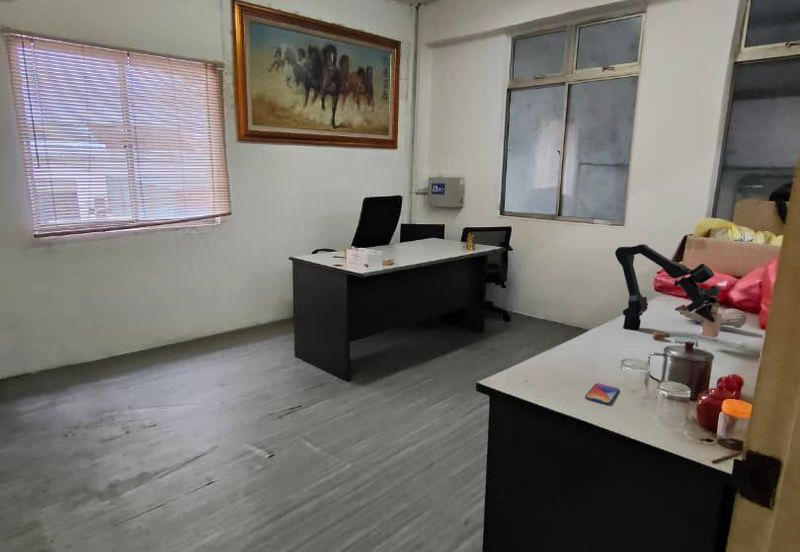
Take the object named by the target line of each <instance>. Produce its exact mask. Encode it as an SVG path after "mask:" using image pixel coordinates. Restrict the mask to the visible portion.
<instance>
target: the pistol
mask: <svg viewBox="0 0 800 552" xmlns="http://www.w3.org/2000/svg"><path fill="white" fill-rule="evenodd" d="M702 330H703V328H702V329H701V328H700V329H699V331H698V330H694V331H692V334H691V335H694V336H697V337H698V338H701V339H706V340H708V341H712V342H718V343H723V344H727V345H731V346H735V347H740V348H742V347H741V346H743V347H744V342H742V341H737V340H733V339H729V338H724V337H722V336H720V335H718V336H717V337H714V338H713V337H709V336H705V335H702Z"/></svg>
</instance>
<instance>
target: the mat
mask: <svg viewBox="0 0 800 552" xmlns="http://www.w3.org/2000/svg"><path fill="white" fill-rule="evenodd" d="M673 338H674V343H675V344H681V345H684V344H683V343H684V341H685V340H690V341H693V342H695V345H696V346H697V342H696V339H694V338H688V337H682V336H681V337H680V336H676V335H674V336H673Z"/></svg>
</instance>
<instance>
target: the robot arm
mask: <svg viewBox="0 0 800 552" xmlns="http://www.w3.org/2000/svg"><path fill="white" fill-rule="evenodd" d="M614 253H615V254H614V255H615V258H616V260H617V261H618V263H619V264H620V265H621V267H622V271H623V275H624V279H625V283H626V287H627V292H628V295H629V296H628V300H627V303H628V306H627V307H626V308H625V309H623V310H622V316H624V320H623V326H622V328H623V329H628V330H633V331H639V330H640V329H641V322H642V320H641V316H643V314H644V313H645V312H646V311H647V310H648V307H649V303H648V300H647V299H648V298H647V296H643V294H641V291H640V287H639V283H638V279H637V275H636V272H635V271H636V270H635V266H634V262H635V255H640V254H641V255H642V256H644V257H645V258H646V259H648V260H650V261H652V262H653V263H655V264H656V265H657V266H659V267H661V268H662V270H663V271H664V272H665V273H666V274H667V275H668V276H669V277H670V278H671V279H672V278H673V279H676V280H674V284H673V287H680V288H681V289H682V291H683V292H684V293H685V294H686V295H685V297H686V298H689V300H690V301H691V302H690V303H689V304H688V305H686V306H687V310H688V311H689V312H692V311H693V310H694V309H696V311H694V313H697V314H698V315H700V316H702V317H704V318H706V319H707V320H709V321H711V322H715V320H714V318H713V316H712V315H711V313H710V312H711V307H712V305H711V304H712V303H718V302H719V301H720V298H719V297H718V296H720V295H721V294H722V293H721V291H722V288H720V287H719V286H717V285H711V286H710V288H708V289H705V288H704V287H700V286H699V285H698V284H701V285H702V284H704V283H705V282H707V281H709V280H710V279H712V278H714V277H715V273H714V271H713V270H712V269H711V268H710V267H708V266H707V265H705V263H700V264H699V265H698V266H696V267H695V268H693V269H690V268H688V267H687V266H686V265H684V264H683V263H680V262H677V261H675V260H674V261H673V260H671V259H670V258H669V259H668V258H667V257H666V256H664V255H663V254H661V253H659V252H657V251H655V250H654V249H653V248H652V247H650V246H648V245H647V244H643V243H642V244H638V245H634V246H619V247H617V248H616V250H615V252H614ZM686 276H687V277H686ZM680 278H681V279H680Z"/></svg>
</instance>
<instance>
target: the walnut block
mask: <svg viewBox="0 0 800 552" xmlns="http://www.w3.org/2000/svg"><path fill="white" fill-rule="evenodd" d="M665 334H666V333H664V332H662V331H661V332H660V331H653V334H652V339H653V341H658V342H665V340H666V337H665V336H666V335H665Z"/></svg>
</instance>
